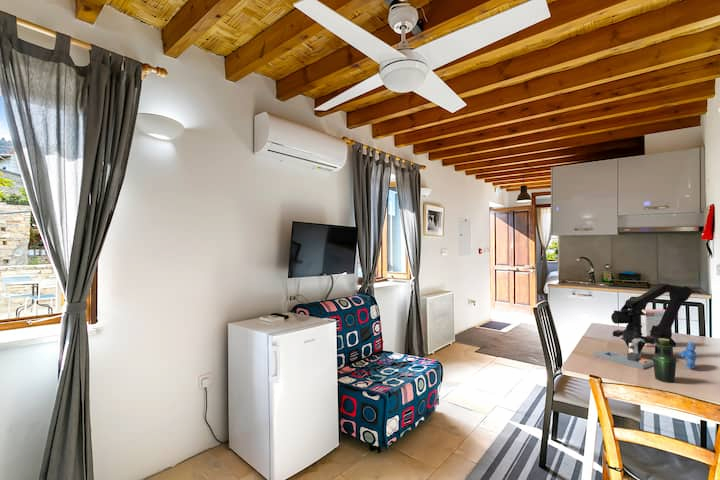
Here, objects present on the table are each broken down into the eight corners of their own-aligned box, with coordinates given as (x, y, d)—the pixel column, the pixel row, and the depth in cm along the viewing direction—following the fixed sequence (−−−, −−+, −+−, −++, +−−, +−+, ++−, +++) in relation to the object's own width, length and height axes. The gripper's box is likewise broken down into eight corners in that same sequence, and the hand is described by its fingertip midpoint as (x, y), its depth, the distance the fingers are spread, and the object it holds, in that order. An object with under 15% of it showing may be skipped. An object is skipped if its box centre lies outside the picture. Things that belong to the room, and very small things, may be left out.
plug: (640, 356, 190) (640, 343, 190) (634, 358, 187) (634, 345, 187) (633, 354, 193) (633, 341, 193) (627, 357, 190) (626, 343, 190)
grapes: (680, 362, 180) (679, 338, 180) (698, 365, 175) (698, 341, 175) (678, 368, 172) (677, 343, 172) (697, 372, 167) (697, 346, 167)
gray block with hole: (652, 365, 177) (652, 355, 177) (643, 369, 172) (642, 358, 172) (604, 353, 196) (604, 344, 196) (594, 356, 191) (594, 347, 191)
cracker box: (665, 344, 211) (664, 308, 211) (672, 347, 205) (672, 310, 205) (639, 344, 212) (639, 308, 212) (646, 347, 206) (646, 310, 206)
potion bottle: (665, 376, 163) (664, 336, 163) (682, 383, 155) (681, 341, 155) (648, 376, 163) (647, 337, 163) (663, 383, 155) (663, 342, 155)
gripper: (607, 321, 195) (607, 350, 195) (648, 329, 178) (648, 360, 178) (617, 319, 200) (618, 347, 200) (658, 326, 184) (658, 356, 184)
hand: (634, 352), depth 190 cm, fingers closed on plug, 3 cm apart
